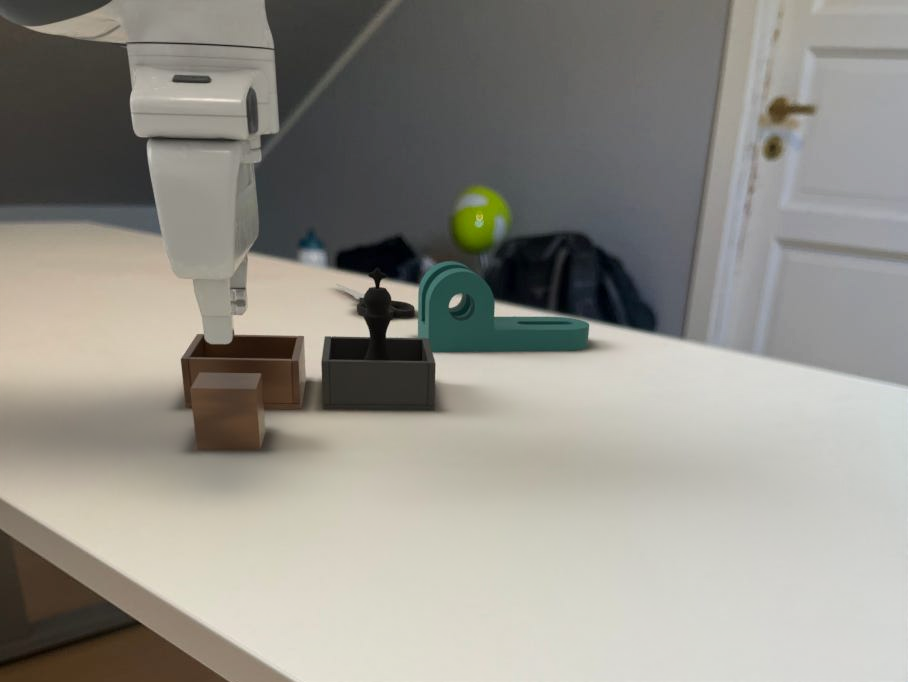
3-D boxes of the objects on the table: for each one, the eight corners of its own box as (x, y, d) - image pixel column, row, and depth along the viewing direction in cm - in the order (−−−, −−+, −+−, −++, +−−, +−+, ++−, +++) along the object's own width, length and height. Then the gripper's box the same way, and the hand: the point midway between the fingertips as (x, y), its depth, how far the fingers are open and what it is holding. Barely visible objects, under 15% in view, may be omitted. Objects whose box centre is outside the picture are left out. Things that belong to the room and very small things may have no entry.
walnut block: (196, 451, 70) (190, 388, 68) (205, 432, 74) (199, 372, 71) (260, 451, 70) (256, 389, 68) (265, 432, 74) (261, 373, 72)
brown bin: (185, 408, 79) (180, 358, 77) (201, 379, 87) (197, 333, 85) (300, 409, 80) (298, 360, 78) (306, 381, 88) (304, 335, 86)
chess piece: (360, 381, 86) (358, 262, 82) (408, 385, 86) (409, 265, 81) (346, 394, 83) (343, 269, 78) (397, 398, 82) (397, 273, 77)
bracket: (428, 352, 99) (429, 271, 96) (417, 338, 105) (418, 260, 101) (595, 351, 103) (603, 273, 99) (576, 337, 109) (583, 262, 105)
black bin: (323, 410, 80) (321, 360, 78) (326, 381, 88) (324, 336, 86) (434, 411, 81) (435, 362, 79) (427, 382, 89) (428, 338, 87)
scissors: (309, 289, 127) (371, 320, 112) (309, 282, 126) (371, 312, 111) (357, 287, 130) (423, 317, 115) (357, 280, 129) (424, 309, 114)
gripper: (180, 98, 70) (202, 299, 77) (122, 101, 52) (156, 361, 59) (269, 101, 71) (283, 299, 77) (242, 104, 53) (262, 361, 60)
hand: (228, 327), depth 68 cm, fingers open, 8 cm apart
